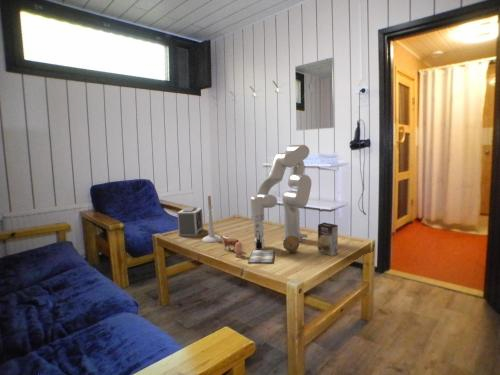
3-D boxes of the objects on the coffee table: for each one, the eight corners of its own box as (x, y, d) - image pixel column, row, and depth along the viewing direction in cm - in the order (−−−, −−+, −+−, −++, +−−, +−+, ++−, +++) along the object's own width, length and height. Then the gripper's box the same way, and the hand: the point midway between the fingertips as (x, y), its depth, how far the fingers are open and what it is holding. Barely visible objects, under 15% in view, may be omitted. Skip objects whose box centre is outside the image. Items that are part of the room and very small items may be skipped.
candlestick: (199, 239, 206) (196, 195, 202) (217, 235, 211) (214, 192, 207) (205, 244, 194) (202, 197, 190) (224, 240, 200) (222, 195, 196)
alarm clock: (196, 236, 213) (194, 210, 210) (178, 236, 215) (176, 210, 212) (204, 229, 231) (202, 205, 228) (187, 229, 233) (185, 205, 230)
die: (264, 246, 184) (263, 238, 184) (263, 249, 179) (263, 240, 179) (255, 246, 185) (255, 238, 184) (255, 249, 180) (254, 240, 179)
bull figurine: (224, 246, 187) (223, 233, 186) (240, 250, 179) (240, 237, 177) (219, 248, 184) (218, 235, 183) (235, 253, 175) (235, 239, 174)
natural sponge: (291, 256, 165) (290, 239, 164) (280, 252, 173) (279, 235, 171) (302, 252, 171) (302, 235, 169) (291, 249, 178) (291, 232, 177)
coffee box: (317, 252, 170) (317, 224, 168) (323, 249, 175) (323, 222, 173) (332, 256, 164) (331, 227, 162) (338, 253, 168) (338, 224, 166)
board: (274, 251, 175) (274, 250, 175) (273, 263, 157) (273, 261, 157) (252, 251, 176) (251, 250, 176) (248, 263, 159) (248, 261, 159)
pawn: (243, 254, 172) (243, 240, 171) (242, 257, 168) (241, 243, 167) (235, 254, 173) (234, 240, 172) (234, 257, 168) (233, 243, 167)
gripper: (263, 220, 171) (264, 252, 173) (265, 213, 187) (266, 242, 190) (249, 221, 172) (251, 252, 174) (253, 214, 188) (254, 242, 191)
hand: (259, 246), depth 182 cm, fingers closed on die, 5 cm apart
